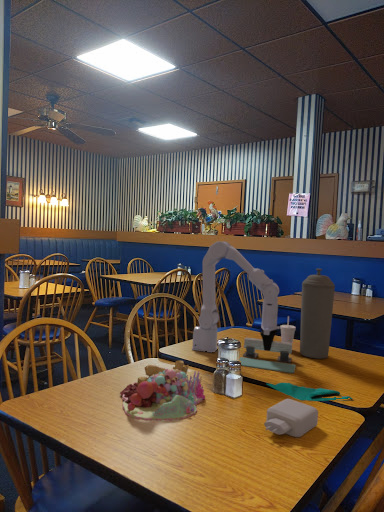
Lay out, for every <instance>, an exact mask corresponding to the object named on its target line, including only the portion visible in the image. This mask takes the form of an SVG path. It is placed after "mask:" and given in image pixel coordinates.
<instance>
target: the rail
mask: <svg viewBox="0 0 384 512" xmlns="http://www.w3.org/2000/svg"><path fill="white" fill-rule="evenodd" d="M243 341H244V342H243V349H246V347H250V348H254V349H255V350H256V351H257V350H258V351H264V352H266V351H265V350H264V346H263V340H262V338H261V339H260V338H254V337H245V338H244V340H243ZM280 351H281V352H289V355H292V352H293V343H287V342H282V341H278V340H273V341H272V345H271V349H270V351H269V352H273V353H280Z"/></svg>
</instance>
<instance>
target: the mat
mask: <svg viewBox="0 0 384 512" xmlns="http://www.w3.org/2000/svg"><path fill="white" fill-rule="evenodd" d="M239 357H240V359H239V360H240V361H241V365H242V367H245V368H246V367H247V368H255V369H262V370H266V371H267V370H268V371H273V372H281V373H282V372H283V373H288V374H295V371H296V364H294V363H293V364H291V363H286V362H279V361H271V360H270V361H269V360H263V359H257V358H250V357H243V356H239Z"/></svg>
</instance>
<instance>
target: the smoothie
mask: <svg viewBox="0 0 384 512" xmlns="http://www.w3.org/2000/svg"><path fill="white" fill-rule="evenodd" d="M289 324H290V316H289V315H288V316H287V324H282V325H280V326H279V327H280V329H279V330H280V334H281V335H280V336H281V342H287V343H292V344H293V342H294V336H295V331H296V330H297V329H296V326H294V325H291V324H290V325H289Z"/></svg>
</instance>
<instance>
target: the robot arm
mask: <svg viewBox="0 0 384 512" xmlns="http://www.w3.org/2000/svg"><path fill="white" fill-rule="evenodd" d="M222 259H226V260H230V261H234V263H236V265H238V266H239V267H240V268H241V269H242V270H243V271H244V272H246V273H247V275H248V280H249V281H250V283H252V284H253V285H254V286H255V287H256V288H257V289H258V290H259V291H261V293H262V295H263V301H262V310H261V311H262V314H261V324H260V327H261V329H262V331H260V332H259V334H260V336H261V339H262V340H263V346H264V350H265V351H264V350H263V351H264V352H271V351H270V349H271V345H272V341H274V338H275V336H276V334H277V332H278V330H281V329H280V326H278V312H279V310H278V309H279V303H278V301H279V298H278V297H279V296H278V295H279V294H280V288H279V286H278V284H277V283H276V282H274V280H273V279H272V278H271V279H270V278H269V276H267V275H266V273H265V270H263V269H260V268H255V267H254V266H252V264H251V263H250V262H249V261H248V260H247V259H246V258H245V256H243V255H242V253H241V252H240V251H239V250H237V248H235V247H234V246H232V245H231V243H230V242H228V241H220V240H219V241H215V242H213V243H212V244H211V245H210V246H209V247H208V250H207V252H206V254H205V255H204V256H203V259H202V305H201V309H200V315H199V317H198V324H199V326H197V325H196V326H195V327H194V329H193V333H192V347H191V350H192V351H199V352H205V351H207V352H206V353H212V352H215V351H216V350H217V347H218V346H217V345H218V342H217V341H218V328H219V327H218V325H217V323H218V322H219V321H220V314H219V312H218V307H217V304H216V265H217V264H218V263H219V262H220V261H221V260H222ZM217 351H218V350H217ZM217 351H216V352H217ZM216 352H215V353H216Z"/></svg>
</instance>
